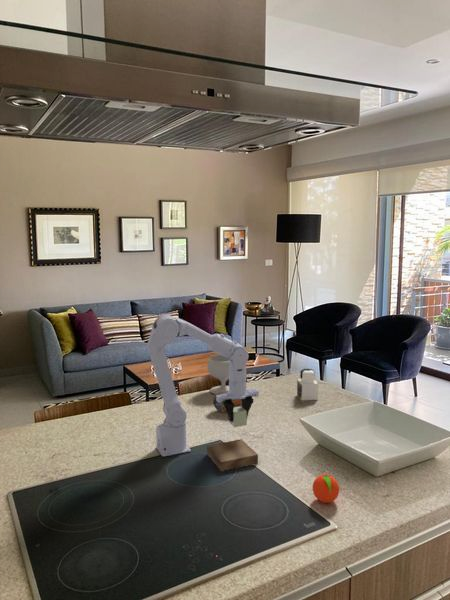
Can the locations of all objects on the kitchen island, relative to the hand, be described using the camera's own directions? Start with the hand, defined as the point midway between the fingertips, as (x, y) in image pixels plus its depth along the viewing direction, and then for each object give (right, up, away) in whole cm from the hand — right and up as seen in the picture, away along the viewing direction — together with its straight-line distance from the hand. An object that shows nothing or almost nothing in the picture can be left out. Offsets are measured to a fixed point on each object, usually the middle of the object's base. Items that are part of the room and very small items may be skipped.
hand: (237, 419), depth 166 cm
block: (0, -1, 0) cm, 2 cm away
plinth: (-2, -10, -12) cm, 15 cm away
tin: (-1, -4, +27) cm, 28 cm away
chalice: (-5, 0, +52) cm, 52 cm away
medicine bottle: (+30, -1, +43) cm, 52 cm away
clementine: (+22, -13, -36) cm, 44 cm away
